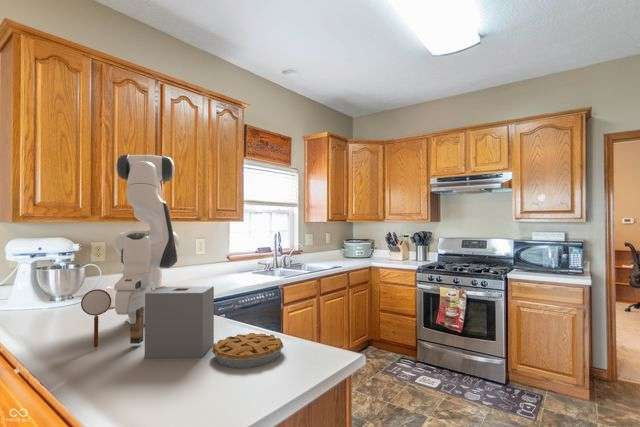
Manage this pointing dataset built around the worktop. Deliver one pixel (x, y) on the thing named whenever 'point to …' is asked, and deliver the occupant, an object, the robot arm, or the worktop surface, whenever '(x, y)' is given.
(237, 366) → the pie
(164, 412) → the worktop surface
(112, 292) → the white cup
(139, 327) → the long brown rectangular block
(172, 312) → the grey tissue box
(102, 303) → the magnifying glass
